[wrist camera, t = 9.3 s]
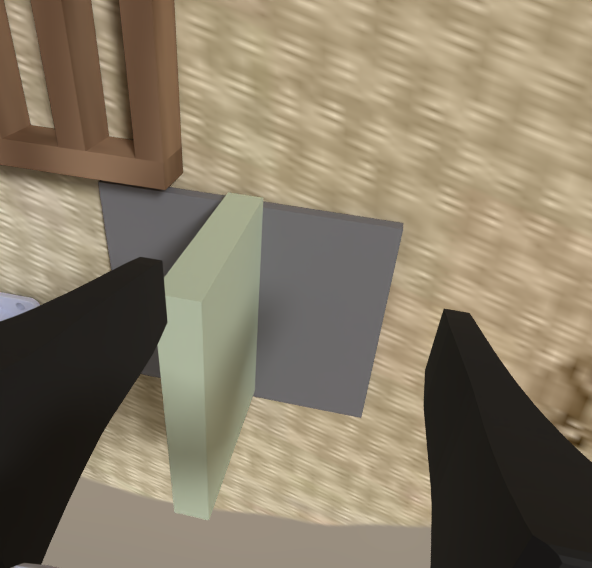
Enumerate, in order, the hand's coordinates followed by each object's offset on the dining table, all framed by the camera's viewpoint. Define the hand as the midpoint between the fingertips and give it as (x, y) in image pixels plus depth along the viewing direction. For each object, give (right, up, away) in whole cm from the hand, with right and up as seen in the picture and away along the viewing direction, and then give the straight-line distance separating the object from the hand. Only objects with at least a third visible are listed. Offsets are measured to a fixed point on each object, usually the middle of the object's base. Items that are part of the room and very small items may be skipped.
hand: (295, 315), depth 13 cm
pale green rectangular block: (-3, 0, +13) cm, 13 cm away
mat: (-3, 0, +13) cm, 14 cm away
